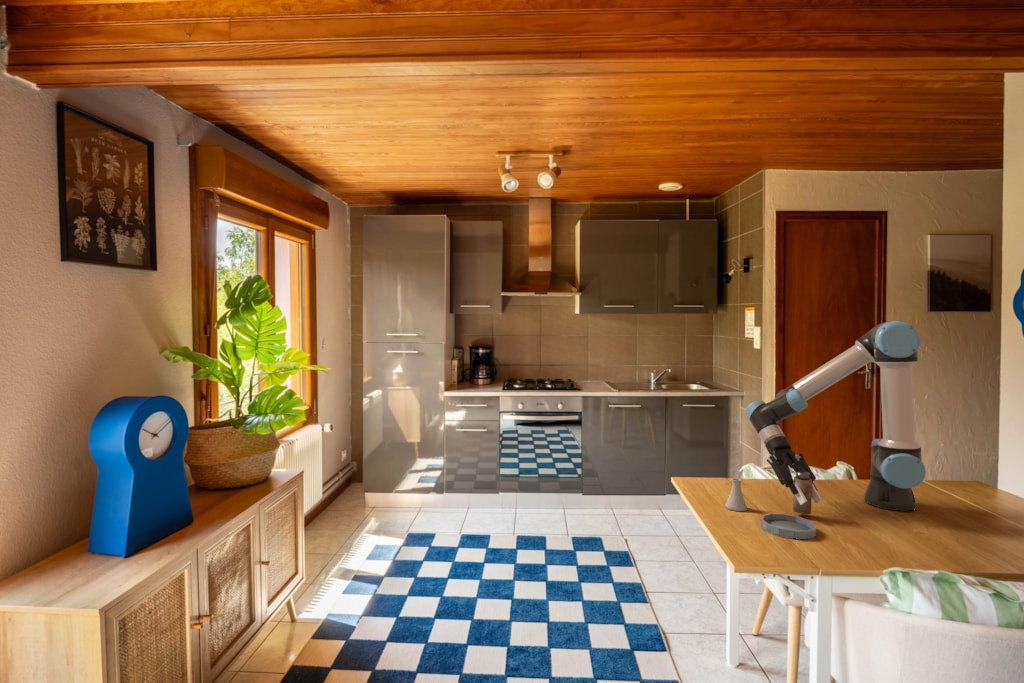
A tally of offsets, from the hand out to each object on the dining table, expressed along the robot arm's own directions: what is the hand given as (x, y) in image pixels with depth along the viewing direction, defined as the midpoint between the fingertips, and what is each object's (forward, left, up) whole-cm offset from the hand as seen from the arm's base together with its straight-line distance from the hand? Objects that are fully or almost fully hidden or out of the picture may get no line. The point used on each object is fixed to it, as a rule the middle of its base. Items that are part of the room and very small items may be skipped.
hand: (811, 502), depth 173 cm
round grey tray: (+12, +9, -6) cm, 16 cm away
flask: (+20, -10, -6) cm, 23 cm away
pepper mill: (+1, -4, -4) cm, 6 cm away
